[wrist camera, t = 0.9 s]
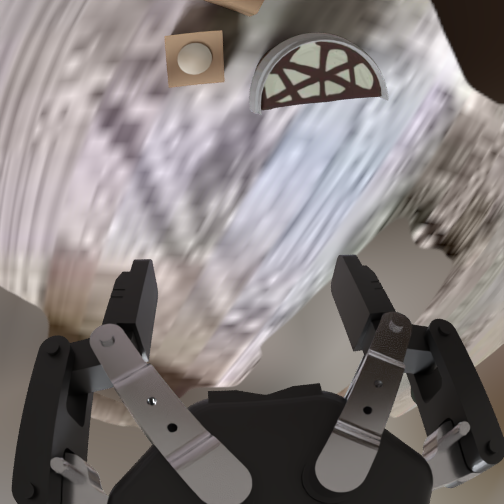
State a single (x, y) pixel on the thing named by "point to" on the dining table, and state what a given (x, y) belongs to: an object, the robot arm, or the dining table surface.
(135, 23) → the dining table surface
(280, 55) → the food container
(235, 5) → the marked block
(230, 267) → the dining table surface
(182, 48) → the marked block
